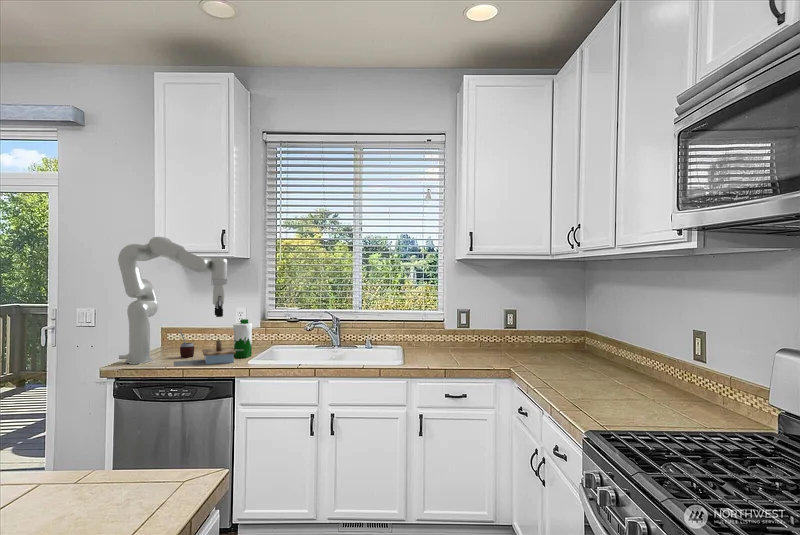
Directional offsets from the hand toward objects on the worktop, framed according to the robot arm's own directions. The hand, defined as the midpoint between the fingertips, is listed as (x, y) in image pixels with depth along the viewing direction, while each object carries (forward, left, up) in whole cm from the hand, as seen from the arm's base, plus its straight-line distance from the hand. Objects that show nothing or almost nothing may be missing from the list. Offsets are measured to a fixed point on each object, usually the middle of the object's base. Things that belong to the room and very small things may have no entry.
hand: (218, 316), depth 261 cm
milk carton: (+13, +12, -24) cm, 30 cm away
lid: (0, 0, -19) cm, 19 cm away
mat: (-14, +1, -24) cm, 27 cm away
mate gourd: (-15, +19, -24) cm, 34 cm away
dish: (0, 0, -24) cm, 24 cm away
